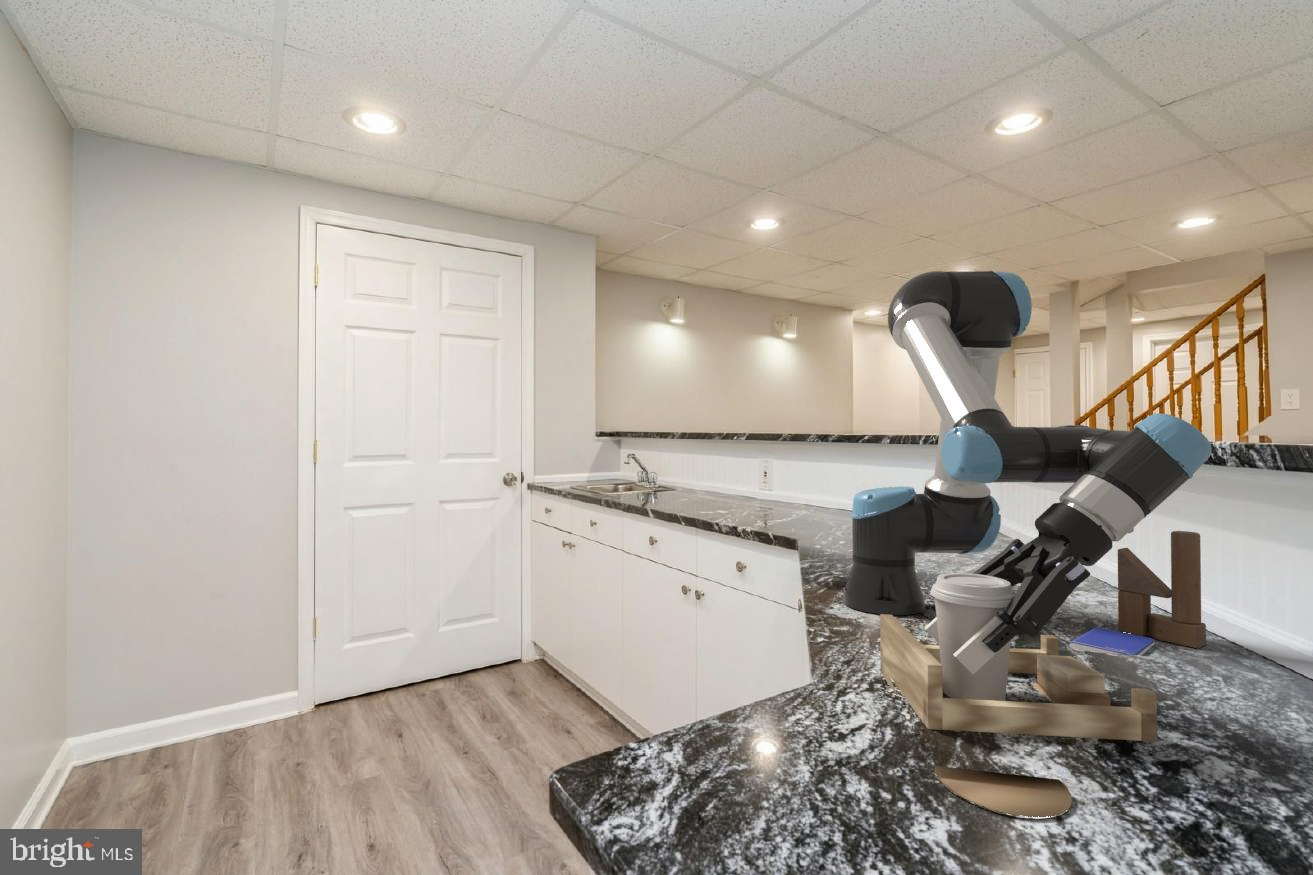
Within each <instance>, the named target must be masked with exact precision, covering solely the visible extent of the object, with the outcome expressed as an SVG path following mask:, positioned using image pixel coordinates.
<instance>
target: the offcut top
mask: <svg viewBox="0 0 1313 875" xmlns="http://www.w3.org/2000/svg"><path fill="white" fill-rule="evenodd" d="M1037 671H1038V672H1039V673H1041V674H1042V675H1044V676H1045V677H1047V678H1048V679H1050V680H1051V681H1053V682H1054V683H1056V684H1057V685H1059V686H1060V687H1061V688H1063V689H1064V690H1066V691H1067V692H1085V693H1106V690H1105V689H1106V688H1105V687H1106V681H1105V680H1106V675H1104V674H1103V673H1101V672H1099V671H1097V670H1096V669H1094V668H1092V667H1091V666H1089V665H1087V664H1085V663H1083V662H1082V661H1080V660H1078V659H1076V658H1075V657H1073V656H1071V655H1059V656H1054V655H1037Z"/></svg>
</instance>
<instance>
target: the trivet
mask: <svg viewBox="0 0 1313 875" xmlns="http://www.w3.org/2000/svg"><path fill="white" fill-rule="evenodd" d="M934 774H935V776H936V775H937V776H936V778H937V779H938V778H939V780H940V781H941V782H942V783H943V784H944V785H945V786H946V787H948V788H949V789H950V790H951V791H952V792H955V793H956V794H957V795H959V796H961V797H963V798H965V799H967V800H969V801H972V802H975V803H976V804H978V805H980V806H984V807H986V808H988V809H989V810H996V811H999V812H1004V813H1008V814H1011V815H1023V816H1028V817H1029V816H1030V817H1032V816H1033V817H1038V816H1039V817H1046V816H1048V817H1049V816H1050V817H1051V816H1055V815H1060V814H1062V813H1064V812H1065V811H1066V810H1068V809H1069V808H1070V809H1071V807H1072V794H1071V792H1070V790H1069V788H1068V787H1067V785H1066V784H1065V783H1063V781H1062V780H1061V779H1056V778H1047V777H1041V776H1040V777H1039V776H1032V775H1031V776H1030V775H1021V774H1011V773H1004V772H994V771H985V770H979V769H977V770H975V769H970V768H969V769H968V768H967V769H966V768H961V767H959V768H958V767H951V766H950V767H949V766H940V765H934ZM939 780H938V781H939ZM940 781H939V782H940ZM1070 806H1071V807H1070ZM1070 809H1069V810H1070ZM1069 810H1068V811H1069Z"/></svg>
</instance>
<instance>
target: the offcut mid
mask: <svg viewBox="0 0 1313 875" xmlns="http://www.w3.org/2000/svg"><path fill="white" fill-rule="evenodd" d="M1036 677H1037V678H1036V680H1037V681H1036V683H1037V684H1038V685H1039V686H1040V687H1041V688H1042V690H1043V691H1044V692H1045V693H1046V694H1047V695H1048V697H1049V698H1050V699H1051V700H1052V701H1053V702H1054V703H1055V704H1075V705H1095V706H1111V703H1112V702H1111V696H1110V695H1109V694H1108V693H1107V692H1105V693H1085V692H1067V691H1066V690H1064V689H1063V688H1061V687H1060V686H1059V685H1057V684H1056V683H1054V682H1053V681H1051V680H1050V679H1048V678H1047V677H1045V676H1044V675H1042V674H1041V673H1039V672H1038V671H1037V674H1036ZM1051 700H1050V701H1051ZM1052 701H1051V702H1052ZM1053 702H1052V703H1053Z"/></svg>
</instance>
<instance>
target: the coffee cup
mask: <svg viewBox="0 0 1313 875" xmlns="http://www.w3.org/2000/svg"><path fill="white" fill-rule="evenodd" d="M929 594H930V595H931V596H932V597H933V598H934V605H935V606H934V607H935V614H936V616H935V617H937V627H938V637H939V642H938V644H939V648H940V658H941V665H942V684H943V693H944V694H945V695H946V696H947V697H948V698H953V699H974V700H994V701H1006V695H1007V683H1008V676H1009V675H1008V673H1009V672H1008V664H1009V654H1010V648H1011V642H1012V640H1010V641H1009V642H1008V643H1007V644H1006V645H1005V646H1004V647H1003V648H1002V649H1001V650H999V651H998V652H997V653H996V654H995V655H994V656H993V657H992V658H991V659H990V660H989V661H987V662H986V663H985V664H984V665H983V666H982V667H981V668H980V669H979V670H978V671H976V672H975V673H974V674H972V673H971V672H970V671H969V670H968V669H967V668H966V667H965V666H964V665H963V664H962V663H961V662H960V661H959V660H958V659H957V658H956V657H955V656H954V655H953V654H954V653H955V652H956V651H957V650H958V649H960V648H961V647H962V646H963V645H964V644H965V643H966V642H967V641H968V640H969V639H970V638H972V637H973V636H974V635H975V634H976V633H977V632H978V631H979V630H980V629H981V628H982V627H984V626H985V625H986V624H987V623H988V622H989V621H990V620H991V619H992V618H993V617H994V616H996V617H998V616H997V615H996V612H998V611H1005V610H1006V609H1007V607H1008V605H1009V604H1010V602H1011V600H1012V599H1013V597H1014V595H1015V594H1016V592H1015V591H1014V590H1013V587H1012V586H1011V583H1010V582H1008V581H1007V580H1004V579H1001V578H997V577H992V576H987V575H980V574H973V573H965V572H949V573H942V574H939V575H937V578H936V581H935V583H933V585H932V587H931V589H930V593H929ZM998 618H999V617H998ZM999 619H1000V620H1001V621H1002V622H1003V620H1002V619H1001V618H999Z"/></svg>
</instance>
